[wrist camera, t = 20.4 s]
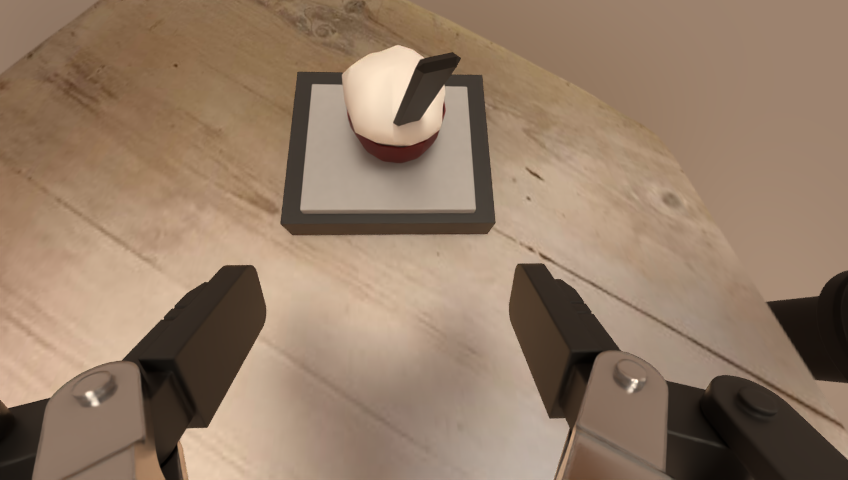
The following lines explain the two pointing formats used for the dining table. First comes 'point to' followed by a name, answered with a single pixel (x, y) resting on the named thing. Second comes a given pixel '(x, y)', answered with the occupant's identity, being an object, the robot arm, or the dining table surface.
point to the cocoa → (397, 101)
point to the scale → (386, 169)
